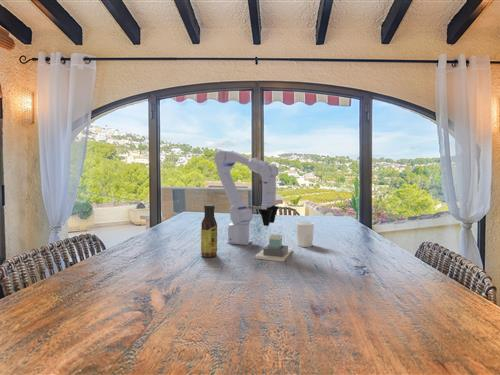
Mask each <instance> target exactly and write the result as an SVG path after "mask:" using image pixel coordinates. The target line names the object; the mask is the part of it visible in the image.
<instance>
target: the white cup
mask: <svg viewBox="0 0 500 375" xmlns="http://www.w3.org/2000/svg"><path fill="white" fill-rule="evenodd" d="M295 227H296V228H295V230H296V231H295V232H296V245H297V247H301V248H310V247H312V246H313V240H314V229H315V228H314V227H315V223H314V222H310V221H297V222H296V223H295Z"/></svg>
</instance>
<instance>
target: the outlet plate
mask: <svg viewBox="0 0 500 375" xmlns="http://www.w3.org/2000/svg"><path fill="white" fill-rule="evenodd" d="M293 251H294V250H293V248H292V247H289V245H284V244H282V249H281V250H280V249H270V248H269V244H267V245H266V246H265V247H264V248H263V249H261V250H260V251H259V252H258V253H256V254H255V255H254V259H257V260H267V261H275V262H285V261H286V259H287V258H288V257H289V255H290V254H291V253H292V252H293Z"/></svg>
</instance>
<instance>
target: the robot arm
mask: <svg viewBox="0 0 500 375" xmlns="http://www.w3.org/2000/svg"><path fill="white" fill-rule="evenodd" d="M214 154H215V155H214V158H213V160H214V163H215V167H216V171H217V172H216V173H217V175H218V178H219V179H220V183H221V185H222V188H223V190H224V192H225V193H226V197H227V199H228V201H229V204H230V207H229V210H228V211H229V212H228V213H229V215H230V216H229V217H230V221H231V223H229V224H228V228H227V244H231V245H233V244H234V245H243V246H248V245H249V244H251V242H253V240H252V239H250V223H251V220H253V216H254V214H253V211H252V209H251V208H250V207H249V206H248V204H247V203H246V202H244V201H243V199H242V198H241V195H240V193H239V191H238V188H237V186H236V183H235V181H234V179H233V177H232V174H231V170H232V169H233V168H234V166H235V164H236V163H237V162H238V163H240V164H242V165H245V166H247V167H248V170H249V171H252V172H254V173H256V174H258V175H260V177H261V181H262V182H261V183H262V184H261V185H262V187H261V188H262V191H261V192H262V195H261V198H262V201H261V208H258V212H259V213H260V216H261V220H262V224H263V226H264V227H269V226H270V223H271V224H274V223H275V222H276V221H275V220H276V216H277V212H278V210H279V208H280V207H279V202H277V197H276V196H277V192H276V191H277V188H276V186H277V184H276V183H277V182H276V181H277V176H278V175H279V167H278V166H277V165H276V164H275V163H271V164H269V162H268V161H263V160H261V159H260V157H257V156H256V157H253V158H250V157H247V156H246V155H243V154H242V153H240V152H238V151H234V150H223V149H218V150H217V151H216V152H215V153H214Z"/></svg>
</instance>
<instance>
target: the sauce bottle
mask: <svg viewBox="0 0 500 375" xmlns="http://www.w3.org/2000/svg"><path fill="white" fill-rule="evenodd" d="M203 207H204V208H203V209H204V214H203V215H204V217H203V219H202V221H201V224H200V225H201V228H200V252H201V257H203V258H214V257H216V256H217V252H218V223H217V220H216V217H215V208H216V207H215V205H214V204H204V205H203Z"/></svg>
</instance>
